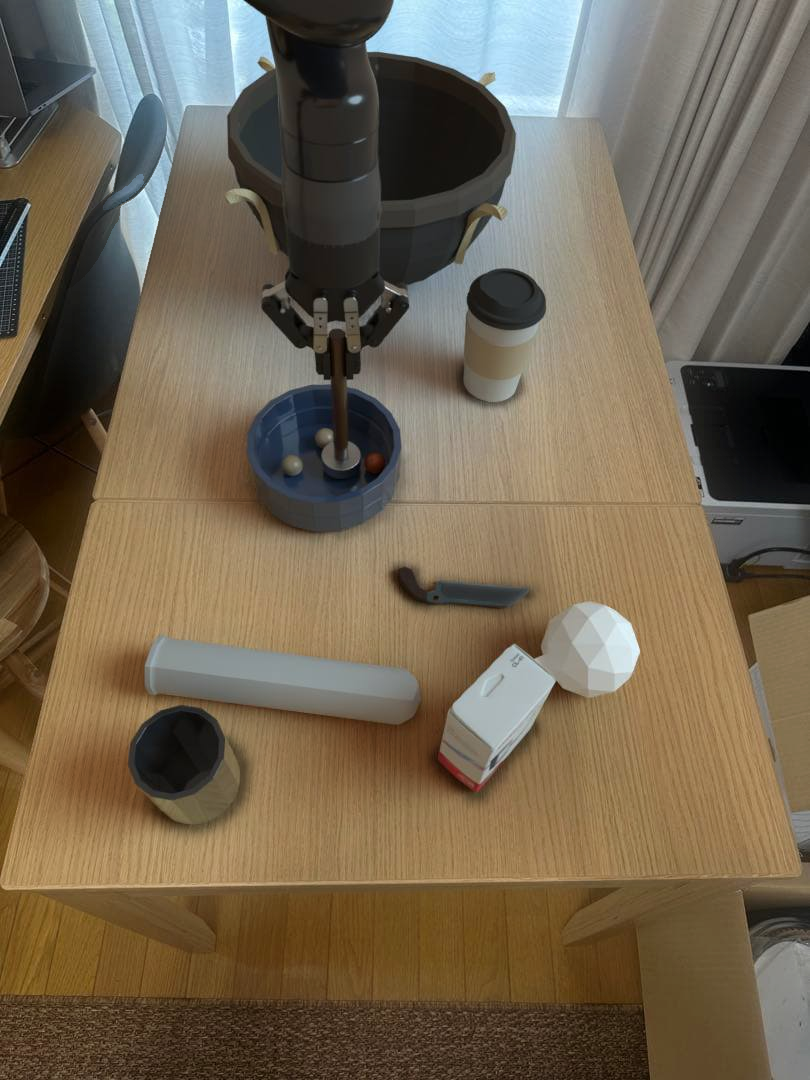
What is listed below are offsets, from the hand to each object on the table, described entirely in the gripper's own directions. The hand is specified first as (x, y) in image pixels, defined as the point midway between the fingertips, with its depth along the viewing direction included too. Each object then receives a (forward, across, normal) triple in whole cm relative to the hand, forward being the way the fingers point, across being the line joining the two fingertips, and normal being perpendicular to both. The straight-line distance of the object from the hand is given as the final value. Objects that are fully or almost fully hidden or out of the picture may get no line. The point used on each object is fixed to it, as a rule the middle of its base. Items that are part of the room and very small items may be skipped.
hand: (338, 373), depth 72 cm
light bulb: (+16, -21, +25) cm, 37 cm away
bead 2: (+14, +2, -4) cm, 14 cm away
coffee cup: (+16, -19, -14) cm, 28 cm away
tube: (+16, +6, +26) cm, 31 cm away
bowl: (+16, -5, -38) cm, 41 cm away
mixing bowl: (+16, +2, 0) cm, 16 cm away
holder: (+16, +14, +34) cm, 40 cm away
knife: (+16, -12, +16) cm, 26 cm away
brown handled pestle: (+14, 0, 0) cm, 14 cm away
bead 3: (+14, -4, 0) cm, 14 cm away
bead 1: (+14, +6, 0) cm, 15 cm away
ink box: (+16, -12, +32) cm, 38 cm away
